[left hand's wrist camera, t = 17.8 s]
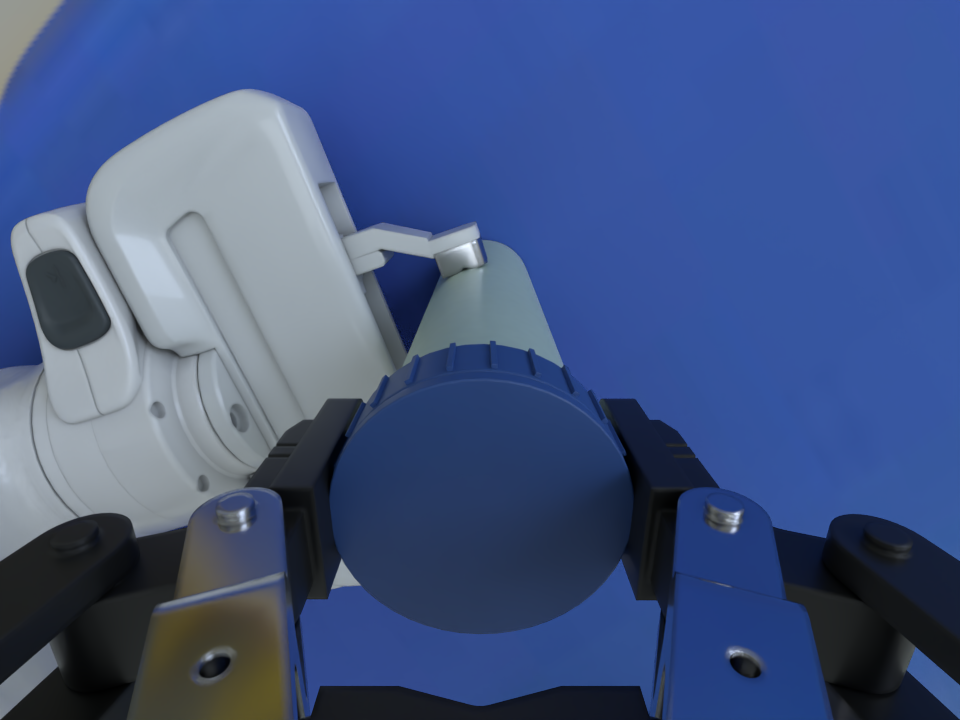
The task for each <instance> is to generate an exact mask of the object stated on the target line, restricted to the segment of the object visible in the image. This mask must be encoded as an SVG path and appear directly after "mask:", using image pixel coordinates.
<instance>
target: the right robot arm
mask: <svg viewBox="0 0 960 720" xmlns="http://www.w3.org/2000/svg"><path fill="white" fill-rule="evenodd" d="M11 247H12V252H13V256H14V259H15V262H16V265H17V268H18V272H19V275H20V278H21V281H22V284H23V287H24V290H25V293H26V296H27V300H28V303H29V306H30V310H31V313H32V317H33V320H34V324H35V328H36V332H37V336H38V340H39V344H40V349H41V354H42V359H43V362H42V363H41V364H39V365H27V366H14V367H8V368H3V369H0V561H1V560H3V559H4V558H6V557H7V556H9V555H10V554H12V553H14V552H15V551H17V550H18V549H20V548H21V547H23V546H24V545H26V544H27V543H29V542H30V541H32V540H33V539H35V538H36V537H38V536H39V535H41V534H43V533H44V532H46V531H48V530H49V529H51V528H53V527H55V526H57V525H60V524H62V523H64V522H67V521H70V520H73V519H76V518H79V517H83V516H87V515H92V514H98V513H118V514H122V515H124V516H127V517H128V518H129V519H130V520H131V522H132V525H133V528H134V532H135V535H136V538H138V537H143V536H148V535H153V534H158V533H163V532H167V531H170V530H173V529H177V528H180V527H183V526H187V525H188V522H189V519H190V517H191V515H192V514H193V512H194V511H195V510H196V509H197V508H198V507H199V506H201V505H202V504H203V503H205V502H206V501H208V500H209V499H211V498H213V497H215V496H217V495H220V494H222V493H225V492H228V491H231V490H235V489H240V488H244V487H245V485H246V484H247V483H248V481H249V480H250V479H251V477H252V476H253V474H254V473H255V472H256V470H257V469H258V468H259V466H260V465H261V464H262V462H263V461H264V460H265V458H266V457H268V454H269V453H270V451H271V450H272V449H273V447H274V446H276V443H277V442H278V441H279V439H280V438H281V437H282V435H283V434H284V432H285V431H286V430H288V429H289V428H291V427H292V426H294V425H296V424H297V423H299V422H300V421H302V420H314V418H315V417H316V415H317V414H318V412H319V411H320V409H321V408H322V406H323V405H324V403H325V402H326V400H327V399H328V398H361V399H362V400H363V402H364V403H367V401H368V400H369V399H370V397H371V396H372V394H373V393H374V392H375V391H376V389H377V388H378V386H379V383H380V381H381V379H382V377H383V376H385V375H387V376H388V377H390V376H391V375H392V374H393V373H395V372H396V371H397V370H398V369H400V368H402V367H403V364H404V362H405V359H406V357H407V355H408V354H407V351H406V349H405V346H404V344H403V341H402V339H401V337H400V334H399V332H398V329H397V327H396V324H395V322H394V320H393V317H392V315H391V312H390V310H389V307H388V305H387V303H386V300H385V298H384V295H383V293H382V290H381V288H380V285H379V283H378V281H377V278H376V276H375V273H374V271H373V270H374V269H377V268H380V267H382V266H384V265H385V264H386V263H387V262H388V261H389V260H390V259H391V258H392V257H393V255H394V252H399V253H405V254H410V255H416V256H421V257H427V258H432V259H434V258H435V260H436V263H437V265H438V268H439V270H440V273H441V275H442V278H443V279H444V278H447V277H450V276H453V275H456V274H458V273H460V272H461V271H462V269H463V268H468V269H474V268H477V267H480V266H482V265H484V264H486V263H487V262H488V258H487V254H486V251H485V248H484V245H483V241H482V238H481V235H480V232H479V229H478V226H477V223H476V222H471V223H467V224H464V225H461V226H459V227H456V228H453V229H450V230H447V231H444V232H441V233H438V234H435V235H432V233H431V232H427V231H422V230H417V229H412V228H408V227H403V226H398V225H393V224H388V223H384V222H382V223H379V224H376V225H374V226H371V227H368V228H365V229H362V230H359V231H357V230H356V227H355V225H354V222H353V220H352V217H351V215H350V213H349V210H348V208H347V205H346V203H345V200H344V198H343V195H342V193H341V191H340V188H339V186H338V183H337V181H336V178H335V176H334V174H333V171H332V169H331V166H330V164H329V161H328V159H327V157H326V154H325V152H324V149H323V147H322V145H321V142H320V140H319V137H318V135H317V132H316V130H315V127H314V125H313V122H312V120H311V118H310V116H309V115H308V113H307V112H306V111H305V110H304V109H303V108H301V107H299V106H297V105H295V104H293V103H291V102H289V101H287V100H285V99H283V98H281V97H279V96H277V95H274V94H271V93H268V92H265V91H261V90H254V89H243V90H237V91H233V92H230V93H227V94H225V95H222V96H219V97H217V98H214V99H212V100H210V101H208V102H206V103H203V104H201V105H199V106H197V107H195V108H193V109H191V110H189V111H187V112H185V113H183V114H181V115H179V116H177V117H175V118H173V119H171V120H169V121H168V122H166V123H164V124H162V125H160V126H159V127H157V128H155V129H153V130H152V131H150V132H148V133H146V134H145V135H143V136H142V137H140V138H138V139H137V140H135V141H134V142H132V143H131V144H129V145H127V146H126V147H124V148H123V149H121V150H120V151H118V152H117V153H116V154H114V155H113V156H112V157H110V158H109V159H108V160H107V161H106V162H105V163H104V164H103V165H102V166H101V167H100V168H99V170H98V171H97V172H96V174H95V175H94V177H93V179H92V181H91V183H90V185H89V188H88V191H87V196H86V202H85V203H80V204H75V205H70V206H66V207H61V208H58V209H54V210H51V211H47V212H44V213H40V214H37V215H34V216H32V217H29V218H26V219H24V220H22V221H21V222H19V223H18V224H17V225H16V226H15V227H14V228H13V230H12V233H11ZM393 251H394V252H393ZM343 586H361V585H360V584H359V582H358V581H357V580H356V579H355V578H354V577H353V575H352V574H351V573H350V571H349V570H348V568H347V567H346V565H345V564H344V562H343V560H342V559H341V562H340V565H339V568H338V571H337V573H336V576H335V579H334V582H333V585H332V588H331V589H335V588H339V587H343ZM57 667H58V665H57V662H56V659H55V657H54V654H53V652H52V649H51V647H50V644H49V643H48V644H47V645H46V646H45V647H43V648H42V649H41V650H40V651H39V652H38V653H36V654H35V655H34V656H33V657H32V658H31V659H30V660H28V661H27V662H26V663H25V664H24V665H23V666H21V667H20V668H19V669H18V670H17V671H16V672H15V673H13V674H12V675H11V676H10V677H9V678H8V679H6V680H5V681H4V682H3V683H2V684H1V685H0V719H2V718H3V717H4V716H5V715H6V714H7V713H8V712H9V711H10V710H11V709H12V708H13V707H14V706H16V705H17V704H18V703H19V702H20V701H21V700H22V699H23V698H24V697H25V696H26V695H27V694H29V693H30V692H31V691H32V690H33V689H34V688H35V687H36V686H37V685H38V684H39V683H40V682H41V681H43V680H44V679H45V678H46V677H47V676H48V675H49V674H50V673H51V672H52V671H53V670H54V669H56V668H57Z"/></svg>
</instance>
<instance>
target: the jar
mask: <svg viewBox="0 0 960 720" xmlns="http://www.w3.org/2000/svg"><path fill="white" fill-rule="evenodd" d="M482 241H483V245H484V248H485V251H486V254H487V258H488V262H487V263H486V264H484V265H482V266H480V267H477V268H474V269H468V268H463V269H462V271H461V272H460V273H458V274H456V275H453V276H450V277H447V278H444V279H443V278H442V275H440V278H439V280H438V282H437V285H436V287H435V290H434V292H433V294H432V297H431V299H430V302H429V304H428V306H427V309H426V311H425V314H424V316H423V318H422V321H421V323H420V326H419V328H418V331H417V333H416V335H415V338H414V340H413V343H412V345H411V347H410V350H409V352H408V355H407V357H406V359H405V362H404V364H403V366H405V365H406V364H408V363H410V362H411V360H412V357H413V356H415V355H417V354H418V356H419V357H422V356H424V355H426V354H429V353H431V352H435V351H438V350H441V349H445V348H449V346H450V343H456V346H461V345H469V344H490V341H496V345H503V346H508V347H513V348H518V349H522V350H525V351H528V350H529V348H531V349H534V350H535V353H536V355H539V356H541V357H543V358H545V359H547V360H549V361H551V362H553V363H555V364H556V365H558V366H559V367H561V368H562V367H563V366H564V365H563V363H562V360H561V357H560V355H559V352H558V350H557V347H556V345H555V342H554V339H553V337H552V334H551V332H550V329H549V327H548V324H547V321H546V319H545V316H544V314H543V311H542V308H541V306H540V303H539V301H538V298H537V296H536V293H535V290H534V288H533V285H532V283H531V280H530V278H529V275H528V272H527V270H526V267H525V265H524V263H523V261H522V260H521V258H520V257H519V256H518V255H517V254H516V253H515V252H514V251H513V250H512V249H510V248H509V247H508V246H506V245H504V244H501V243H499V242H495V241H490V240H482Z"/></svg>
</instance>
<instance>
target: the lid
mask: <svg viewBox="0 0 960 720" xmlns="http://www.w3.org/2000/svg"><path fill="white" fill-rule="evenodd" d="M345 436H346V437H348V438H347V440H346V442H345V444H344V446H343V448H342V450H341V452H340V454H339V456H338V458H337V460H336V462H335V464H334V472H333V476H332V479H331V482H330V489H329V502H330V510H331V519H332V527H333V535H334V542H335V545H336V548H337V550H338V552H339V554H340V556H341V558H342V560H343V562H344V564H345V565H346V567H347V568H348V570H349V571H350V573H351V574H352V575H353V577H354V578H355V579H356V580H357V581H358V582H359V584H360V585H361V586H362V587H363V588H364V589H365V590H366V591H367V592H368V593H369V594H371V595H372V596H373V597H374V598H375V599H377V600H378V601H379V602H381V603H382V604H384V605H385V606H387V607H388V608H390V609H391V610H393V611H394V612H396V613H398V614H400V615H402V616H404V617H406V618H408V619H410V620H413V621H416V622H418V623H421V624H423V625H426V626H430V627H434V628H437V629H441V630H446V631H452V632H458V633H471V634H493V633H503V632H511V631H516V630H521V629H525V628H529V627H533V626H536V625H539V624H541V623H544V622H547V621H550V620H552V619H554V618H556V617H558V616H560V615H562V614H564V613H566V612H568V611H569V610H571V609H573V608H574V607H576V606H578V605H579V604H580V603H582V602H583V601H584V600H586V599H587V598H588V597H589V596H591V595H592V594H593V593H594V592H595V591H596V590H597V589H598V588H599V587H600V586H601V585H602V584H603V583H604V582H605V581H606V580H607V578H608V577H609V576H610V574H611V573H612V572H613V571H614V569H615V568H616V566H617V564H618V563H619V561H620V559H621V557H622V556H623V554H624V551H625V549H626V546H627V544H628V541H629V535H630V528H631V520H632V512H633V503H634V490H633V485H632V481H631V477H630V473H629V470H628V467H627V465H626V462H625V460H624V458H623V456H626V452H625V450H624V448H623V446H622V444H621V442H620V440H619V438H618V436H617V434H616V432H615V430H614V428H613V426H612V424H611V422H610V420H609V419H607V418H606V416H605V414H604V412H603V410H602V408H601V406H600V404H599V402H598V400H597V398H596V396H595V394H594V392H593V391H592V390H590V391H588V392H587V390H586V389H585V388H584V387H583V386H582V384H580V383H579V382H578V381H577V380H576V379H575V378H574V377H573V376H572V375H571V373H570V371H569V369H568V367H566V366H565V365H564V366H563V367H562V368H561V367H559V366H558V365H556V364H555V363H553V362H551V361H549V360H547V359H545V358H543V357H541V356H539V355H536V353H535V350H534V349H531V348H529V350H528V351H525V350H522V349H518V348H513V347H508V346H503V345H496V341H490V344H469V345H461V346H456V343H450V346H449V348H445V349H441V350H438V351H435V352H431V353H429V354H426V355H424V356H422V357H419V356H418V354H417V355H415V356H413V357H412V360H411V362H410V363H408V364H406V365H405V366H403V367H402V368H400V369H398V370H397V371H396V372H395V373H393V374H392V375H391V376H390V377H388V376H387V375H385V376H383V377H382V379H381V381H380V383H379V386H378V388H377V389H376V391H375V392H374V393H373V394H372V396H371V397H370V399H369V400H368V401H367V403H364V402H362V403H361V404H360V406H359V408H358V410H357V412H356V414H355V416H354V418H353V420H352V422H351V424H350V426H349V428H348V430H347V432H346V434H345Z"/></svg>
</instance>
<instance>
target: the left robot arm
mask: <svg viewBox="0 0 960 720" xmlns="http://www.w3.org/2000/svg"><path fill="white" fill-rule="evenodd" d="M362 402H363V400H362V399H361V398H328V399H327V400H326V402H325V403H324V405H323V406H322V408H321V409H320V411H319V412H318V414H317V415H316V417H315V418H314V420H302V421H300V422H299V423H297V424H296V425H294V426H292V427H291V428H289V429H288V430H286V431H285V432H284V434H283V435H282V437H281V438H280V439H279V441H278V442H277V443H276V446H274V447H273V449H272V450H271V451H270V453H269V454H268V457H266V458H265V460H264V461H263V462H262V464H261V465H260V466H259V468H258V469H257V470H256V472H255V473H254V474H253V476H252V477H251V479H250V480H249V481H248V483H247V484H246V485H245V487H244V488H240V489H235V490H231V491H228V492H225V493H222V494H220V495H217V496H215V497H213V498H211V499H209V500H208V501H206V502H205V503H203V504H202V505H201V506H199V507H198V508H197V509H196V510H195V511H194V512H193V514H192V515H191V517H190V519H189V522H188V527H186V528H182V529H178V530H173V531H168V532H163V533H158V534H153V535H148V536H143V537H138V538H136V535H135V532H134V528H133V525H132V522H131V520H130V519H129V518H128V517H127V516H124V515H122V514H118V513H98V514H92V515H87V516H83V517H79V518H76V519H73V520H70V521H67V522H64V523H62V524H60V525H57V526H55V527H53V528H51V529H49V530H48V531H46V532H44V533H43V534H41V535H39V536H38V537H36V538H35V539H33V540H32V541H30V542H29V543H27V544H26V545H24V546H23V547H21V548H20V549H18V550H17V551H15V552H14V553H12V554H10V555H9V556H7V557H6V558H4V559H3V560H1V561H0V685H1V684H2V683H3V682H4V681H5V680H6V679H8V678H9V677H10V676H11V675H12V674H13V673H15V672H16V671H17V670H18V669H19V668H20V667H21V666H23V665H24V664H25V663H26V662H27V661H28V660H30V659H31V658H32V657H33V656H34V655H35V654H36V653H38V652H39V651H40V650H41V649H42V648H43V647H45V646H46V645H47V644H48V643H49V644H50V647H51V649H52V652H53V654H54V657H55V659H56V662H57V665H58V667H57V668H56V669H54V670H53V671H52V672H51V673H50V674H49V675H48V676H47V677H46V678H45V679H44V680H43V681H41V682H40V683H39V684H38V685H37V686H36V687H35V688H34V689H33V690H32V691H31V692H30V693H29V694H27V695H26V696H25V697H24V698H23V699H22V700H21V701H20V702H19V703H18V704H17V705H16V706H14V707H13V708H12V709H11V710H10V711H9V712H8V713H7V714H6V715H5V716H4V717H3V718H2V719H0V720H960V719H958V718H957V717H956V716H955V715H954V714H953V713H952V712H951V711H950V710H949V709H948V708H947V707H946V706H944V705H943V704H942V703H941V702H940V701H939V700H938V699H937V698H936V697H935V696H934V695H933V694H931V693H930V692H929V691H928V690H927V689H926V688H925V687H924V686H923V685H922V684H921V683H920V682H919V681H917V680H916V679H915V678H914V677H913V676H912V675H911V674H910V673H909V672H908V671H907V668H908V665H909V662H910V660H911V657H912V655H913V652H914V650H915V647H917V648H918V649H919V650H920V651H921V652H922V653H924V654H925V655H926V656H927V657H928V658H929V659H930V660H932V661H933V662H934V663H935V664H936V665H937V666H939V667H940V668H941V669H942V670H943V671H944V672H945V673H947V674H948V675H949V676H950V677H951V678H952V679H954V680H955V681H956V682H957V683H958V684H959V685H960V561H959V560H957V559H956V558H954V557H953V556H951V555H950V554H948V553H946V552H945V551H943V550H942V549H940V548H939V547H937V546H936V545H934V544H933V543H931V542H930V541H928V540H927V539H925V538H924V537H922V536H921V535H919V534H917V533H916V532H914V531H912V530H910V529H908V528H906V527H904V526H901V525H899V524H897V523H894V522H891V521H888V520H885V519H881V518H878V517H873V516H868V515H860V514H848V515H842V516H839V517H836V518H835V519H833V520H832V522H831V524H830V526H829V530H828V533H827V537H826V538H822V537H817V536H812V535H807V534H802V533H797V532H792V531H787V530H783V529H778V528H775V527H772V522H771V519H770V517H769V515H768V514H767V512H766V511H765V510H764V509H763V508H762V507H761V506H759V505H758V504H757V503H755V502H754V501H752V500H751V499H749V498H747V497H745V496H743V495H740V494H738V493H735V492H732V491H729V490H725V489H720V488H719V486H718V485H717V484H716V482H715V481H714V480H713V478H712V477H711V476H710V474H709V473H708V472H707V470H706V469H705V468H704V466H703V465H702V464H701V462H700V461H699V460H698V458H695V454H694V453H693V452H692V450H691V449H690V447H687V443H686V442H685V441H684V439H683V438H682V437H681V435H680V434H679V433H678V431H676V430H675V429H673V428H671V427H670V426H668V425H667V424H665V423H663V422H662V421H660V420H649V419H648V417H647V416H646V414H645V413H644V411H643V410H642V408H641V407H640V405H639V404H638V402H637V401H636V400H635V399H601V400H600V402H599V404H600V406H601V408H602V410H603V412H604V414H605V416H606V418H607V419H609V420H610V422H611V424H612V426H613V428H614V430H615V432H616V434H617V436H618V438H619V440H620V442H621V444H622V446H623V448H624V450H625V452H626V456H623V458H624V460H625V462H626V465H627V467H628V470H629V473H630V477H631V481H632V485H633V490H634V503H633V512H632V520H631V528H630V535H629V541H628V544H627V546H626V549H625V551H624V554H623V556H622V557H621V559H622V562H623V565H624V568H625V570H626V573H627V576H628V579H629V581H630V584H631V587H632V590H633V593H634V595H635V598H636V600H657V601H658V603H659V605H660V608H661V612H660V618H659V625H658V633H657V643H656V654H655V664H654V674H653V685H652V695H651V705H650V716H649V714H648V711H647V708H646V705H645V701H644V698H643V695H642V692H641V689H640V686H560V687H556V688H552V689H548V690H545V691H541V692H537V693H533V694H529V695H525V696H522V697H518V698H514V699H510V700H506V701H503V702H499V703H495V704H491V705H487V706H473V705H469V704H465V703H461V702H457V701H454V700H450V699H446V698H442V697H438V696H435V695H431V694H427V693H423V692H419V691H415V690H412V689H408V688H404V687H400V686H320V689H319V692H318V695H317V698H316V701H315V705H314V708H313V711H312V714H311V716H310V705H309V695H308V685H307V674H306V664H305V654H304V643H303V633H302V625H301V618H300V614H301V612H302V609H303V607H304V604H305V602H306V599H328V596H329V593H330V590H331V588H332V585H333V582H334V579H335V576H336V573H337V571H338V568H339V565H340V562H341V559H342V558H341V556H340V554H339V552H338V550H337V548H336V545H335V542H334V535H333V527H332V519H331V510H330V502H329V489H330V482H331V479H332V476H333V472H334V464H335V462H336V460H337V458H338V456H339V454H340V452H341V450H342V448H343V446H344V444H345V442H346V440H347V438H348V437H346V436H345V434H346V432H347V430H348V428H349V426H350V424H351V422H352V420H353V418H354V416H355V414H356V412H357V410H358V408H359V406H360V404H361V403H362Z"/></svg>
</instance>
